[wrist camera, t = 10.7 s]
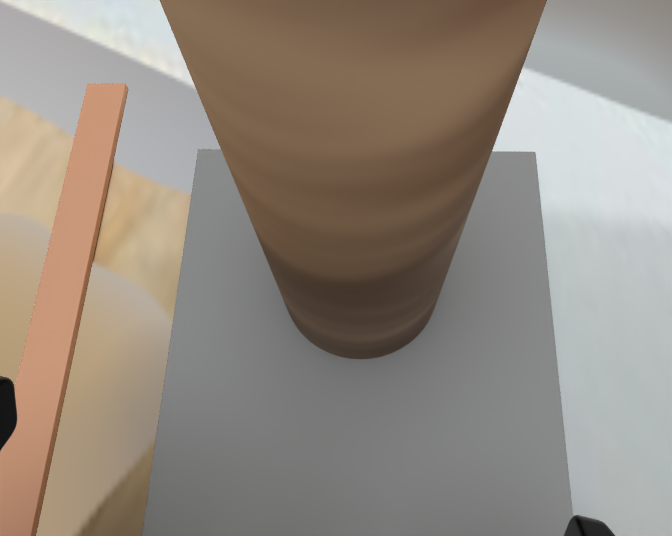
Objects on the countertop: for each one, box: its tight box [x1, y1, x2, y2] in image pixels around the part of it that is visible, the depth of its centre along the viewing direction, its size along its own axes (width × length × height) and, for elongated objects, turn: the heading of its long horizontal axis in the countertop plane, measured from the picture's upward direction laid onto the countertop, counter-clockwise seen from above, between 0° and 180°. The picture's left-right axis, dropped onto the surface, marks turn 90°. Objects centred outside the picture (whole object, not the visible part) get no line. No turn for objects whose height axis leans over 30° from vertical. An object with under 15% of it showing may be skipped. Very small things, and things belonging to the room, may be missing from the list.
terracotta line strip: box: [0, 84, 128, 536], centre depth 19 cm, size 20×2×1 cm, turn 178°
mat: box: [142, 149, 573, 536], centre depth 18 cm, size 14×12×1 cm
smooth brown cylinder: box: [160, 0, 547, 359], centre depth 12 cm, size 5×5×14 cm
